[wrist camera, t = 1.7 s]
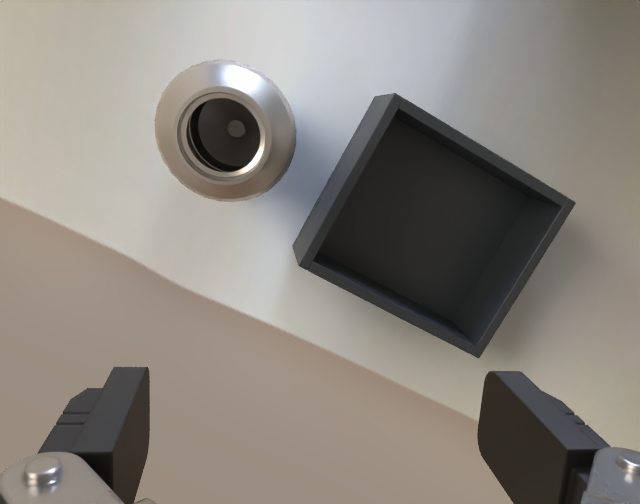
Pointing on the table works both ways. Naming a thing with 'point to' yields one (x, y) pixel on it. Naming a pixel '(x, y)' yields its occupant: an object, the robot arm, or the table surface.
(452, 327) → the tub
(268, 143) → the silver metal bottle
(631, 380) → the table surface
